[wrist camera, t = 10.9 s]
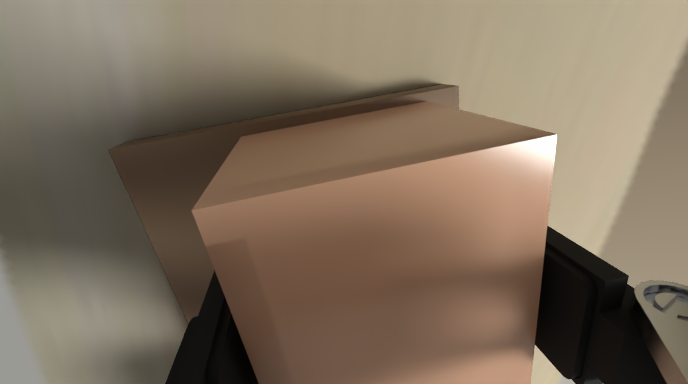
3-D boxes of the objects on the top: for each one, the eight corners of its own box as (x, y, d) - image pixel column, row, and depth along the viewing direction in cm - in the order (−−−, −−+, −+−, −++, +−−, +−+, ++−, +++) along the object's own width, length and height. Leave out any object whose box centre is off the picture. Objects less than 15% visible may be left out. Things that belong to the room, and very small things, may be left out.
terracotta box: (241, 136, 11) (191, 210, 5) (426, 101, 11) (557, 134, 6) (297, 328, 14) (302, 495, 9) (436, 293, 15) (525, 429, 9)
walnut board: (125, 142, 11) (108, 150, 10) (443, 84, 12) (458, 85, 11) (288, 517, 22) (288, 542, 20) (454, 468, 23) (463, 488, 22)
